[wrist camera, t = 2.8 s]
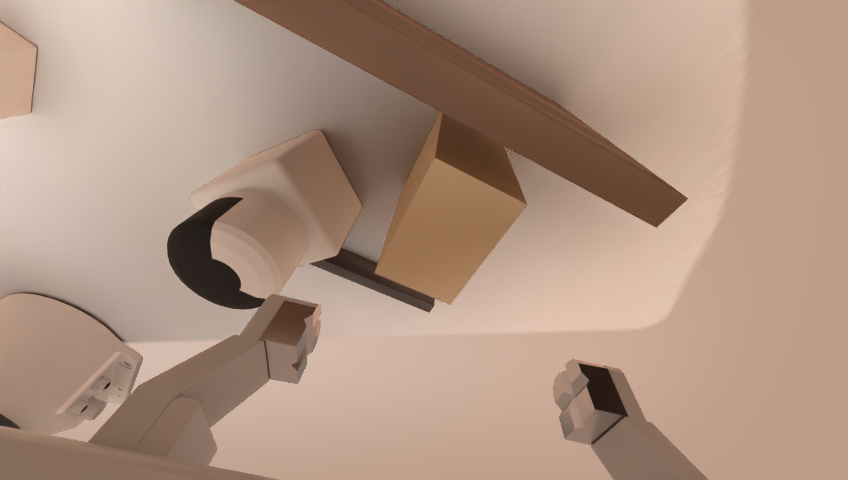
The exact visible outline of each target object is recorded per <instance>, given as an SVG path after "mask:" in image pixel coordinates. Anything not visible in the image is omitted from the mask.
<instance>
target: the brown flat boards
mask: <svg viewBox="0 0 848 480" xmlns="http://www.w3.org/2000/svg"><path fill="white" fill-rule="evenodd" d="M234 1H236V2H238V3H240V4H242V5H243V6H245V7H247V8H249V9H251V10H253V11H255V12H256V13H258V14H260V15H262V16H264V17H266V18H268V19H269V20H271V21H273V22H275V23H277V24H279V25H281V26H282V27H284V28H286V29H288V30H290V31H292V32H294V33H295V34H297V35H299V36H301V37H303V38H305V39H307V40H309V41H310V42H312V43H314V44H316V45H318V46H320V47H322V48H323V49H325V50H327V51H329V52H331V53H333V54H335V55H336V56H338V57H340V58H342V59H344V60H346V61H348V62H349V63H351V64H353V65H355V66H357V67H359V68H361V69H362V70H364V71H366V72H368V73H370V74H372V75H374V76H375V77H377V78H379V79H381V80H383V81H385V82H387V83H388V84H390V85H392V86H394V87H396V88H398V89H400V90H401V91H403V92H405V93H407V94H409V95H411V96H413V97H414V98H416V99H418V100H420V101H422V102H424V103H426V104H428V105H429V106H431V107H433V108H435V109H437V110H439V111H441V112H442V113H444V114H446V115H448V116H450V117H452V118H454V119H455V120H457V121H459V122H461V123H463V124H465V125H467V126H468V127H470V128H472V129H474V130H476V131H478V132H480V133H481V134H483V135H485V136H487V137H489V138H491V139H493V140H494V141H496V142H498V143H500V144H502V145H504V146H506V147H507V148H509V149H511V150H513V151H515V152H517V153H519V154H520V155H522V156H524V157H526V158H528V159H530V160H532V161H533V162H535V163H537V164H539V165H541V166H543V167H545V168H546V169H548V170H550V171H552V172H554V173H556V174H558V175H560V176H561V177H563V178H565V179H567V180H569V181H571V182H573V183H574V184H576V185H578V186H580V187H582V188H584V189H586V190H587V191H589V192H591V193H593V194H595V195H597V196H599V197H600V198H602V199H604V200H606V201H608V202H610V203H612V204H613V205H615V206H617V207H619V208H621V209H623V210H625V211H626V212H628V213H630V214H632V215H634V216H636V217H638V218H639V219H641V220H643V221H645V222H647V223H649V224H651V225H652V226H654V227H658V226H659V225H660V224H661V223H662V222H663V221H664V220H665V219H666V218H667V217H669V216H670V215H671V214H672V213H673V212H674V211H675V210H676V209H677V208H678V207H679V206H681V205H682V204H683V203H684V202H685V201H686V200H687V199H688V198H687V197H685V196H684V195H683V194H681V193H680V192H678V191H677V190H676V189H674V188H673V187H672V186H670V185H669V184H667V183H666V182H665V181H663V180H662V179H661V178H659V177H658V176H656V175H655V174H654V173H652V172H651V171H650V170H648V169H647V168H645V167H644V166H643V165H641V164H640V163H639V162H637V161H636V160H634V159H633V158H632V157H630V156H629V155H628V154H626V153H625V152H623V151H622V150H621V149H619V148H618V147H617V146H615V145H614V144H612V143H611V142H610V141H608V140H607V139H606V138H604V137H603V136H601V135H600V134H599V133H597V132H596V131H595V130H593V129H592V128H590V127H589V126H588V125H586V124H585V123H584V122H582V121H581V120H579V119H578V118H577V117H575V116H574V115H573V114H571V113H570V112H568V111H567V110H566V109H564V108H563V107H561V106H560V105H558V104H556V103H555V102H553V101H551V100H549V99H548V98H546V97H544V96H543V95H541V94H539V93H537V92H536V91H534V90H532V89H531V88H529V87H527V86H526V85H524V84H522V83H520V82H519V81H517V80H515V79H514V78H512V77H510V76H508V75H507V74H505V73H503V72H502V71H500V70H498V69H497V68H495V67H493V66H491V65H490V64H488V63H486V62H485V61H483V60H481V59H479V58H478V57H476V56H474V55H473V54H471V53H469V52H468V51H466V50H464V49H462V48H461V47H459V46H457V45H456V44H454V43H452V42H450V41H449V40H447V39H445V38H444V37H442V36H440V35H439V34H437V33H435V32H433V31H432V30H430V29H428V28H427V27H425V26H423V25H421V24H420V23H418V22H416V21H415V20H413V19H411V18H410V17H408V16H406V15H404V14H403V13H401V12H399V11H398V10H396V9H394V8H392V7H391V6H389V5H387V4H386V3H384V2H382V1H380V0H234ZM309 264H311V265H314V266H316V267H319V268H321V269H324V270H326V271H329V272H331V273H333V274H336V275H338V276H341V277H343V278H346V279H348V280H351V281H353V282H356V283H358V284H360V285H363V286H365V287H368V288H370V289H373V290H375V291H378V292H380V293H383V294H385V295H387V296H390V297H392V298H395V299H397V300H400V301H402V302H405V303H407V304H410V305H412V306H414V307H417V308H419V309H422V310H424V311H427V312H430V311H431V309H432V308H433V307H434V300H435V298H433V297H430V296H428V295H425V294H423V293H421V292H418V291H416V290H413V289H411V288H409V287H406V286H404V285H401V284H399V283H397V282H394V281H392V280H390V279H387V278H385V277H382V276H380V275H378V274H375V270H376V267H377V264H376V263H374V262H372V261H369V260H367V259H365V258H362V257H360V256H357V255H355V254H353V253H350V252H348V251H346V250H343V249H340V251H339V253H338V254H337V255H336V256H334V257H330V258H327V259H323V260H320V261H316V262H313V263H309Z"/></svg>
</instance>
